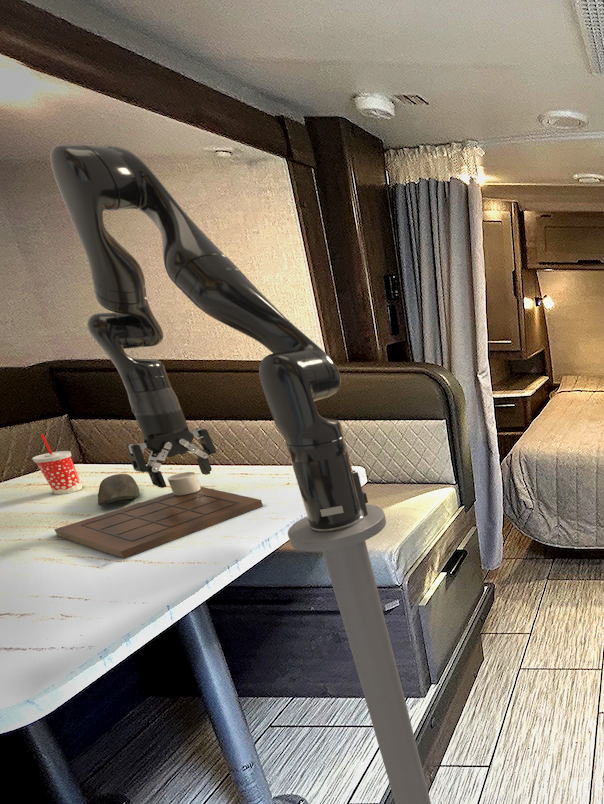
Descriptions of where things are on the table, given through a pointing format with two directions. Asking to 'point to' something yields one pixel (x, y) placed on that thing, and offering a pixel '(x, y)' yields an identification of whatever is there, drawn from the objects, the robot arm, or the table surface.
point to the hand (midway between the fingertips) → (185, 480)
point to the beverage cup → (58, 470)
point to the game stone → (184, 483)
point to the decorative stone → (117, 489)
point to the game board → (156, 521)
